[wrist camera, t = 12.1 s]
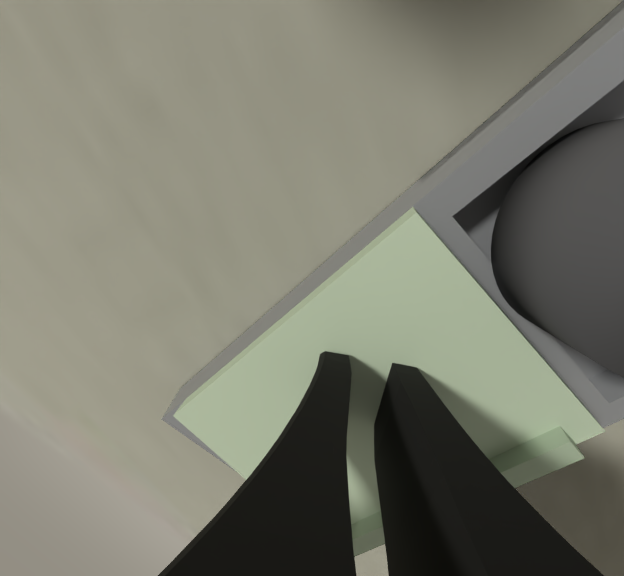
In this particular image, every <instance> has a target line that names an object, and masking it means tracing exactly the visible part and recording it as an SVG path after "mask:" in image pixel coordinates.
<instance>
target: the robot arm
mask: <svg viewBox="0 0 624 576" xmlns="http://www.w3.org/2000/svg"><path fill="white" fill-rule="evenodd" d="M351 376H352V372H351V364H350V359H349V355H345V354H339V353H333V352H328V351H324V352H323V353H321V354H320V356H319V361H318V366H317V369H316V372H315V374H314V376H313V379H312V381H311V383H310V385H309V387H308V389H307V391H306V393H305V395H304V397H303V398H302V400H301V402H300V404H299V406H298V408H297V409H296V411H295V413H294V414H293V416H292V417H291V419H290V420H289V422H288V424H287V425H286V427H285V428H284V430H283V431H282V433H281V434H280V436H279V437H278V439H277V440H276V442H275V443H274V444H273V446H272V447H271V449H270V450H269V451H268V453H267V454H266V456H265V457H264V458H263V459H262V461H261V462H260V463H259V465H258V466H257V467H256V469H255V470H254V471H253V472H252V474H251V475H250V476H249V477H248V478H247V480H246V481H245V482H244V483H243V484H242V486H241V487H240V488H239V489H238V490H237V492H236V493H235V494H234V495H233V496H232V498H231V499H230V500H229V501H228V502H227V503H226V505H225V506H224V507H223V508H222V509H221V510H220V511H219V512H218V514H217V515H216V516H215V517H214V518H213V519H212V520H211V521H210V522H209V523H208V524H207V525H206V526H205V528H204V529H203V530H202V531H201V532H200V533H199V534H198V535H197V536H196V537H195V538H194V539H193V540H192V541H191V542H190V543H189V544H188V545H187V546H186V547H185V548H184V550H183V551H182V552H181V553H180V554H179V555H178V556H177V557H176V558H175V559H174V560H173V561H172V562H171V563H170V564H169V565H168V566H167V567H166V568H165V569H164V570H163V571H162V572H161V573H160V574H159V575H158V576H356V570H355V560H354V551H353V539H352V527H351V515H350V503H349V489H348V473H347V457H346V452H347V428H348V415H349V403H350V390H351ZM374 461H375V469H376V477H377V485H378V493H379V501H380V508H381V516H382V523H383V531H384V538H385V546H386V553H387V561H388V572H389V576H604V575H603V574H601V573H600V572H599V571H598V570H597V569H596V568H595V567H594V566H593V565H592V564H591V563H589V562H588V561H587V560H586V559H585V558H584V557H583V556H582V555H581V554H580V553H579V552H577V551H576V550H575V549H574V548H573V547H572V546H571V545H570V544H569V543H568V542H567V541H566V540H565V539H564V538H563V537H562V536H561V535H560V534H559V533H558V532H557V531H556V530H555V529H554V528H553V527H552V526H551V525H550V524H549V523H548V522H547V521H546V520H545V519H544V518H543V517H542V516H541V515H540V514H539V513H538V512H537V511H536V510H535V509H534V508H533V507H532V506H531V505H530V504H529V503H528V502H527V501H526V500H525V499H524V498H523V497H522V496H521V495H520V494H519V493H518V491H517V490H516V489H515V488H514V487H513V486H512V485H511V484H510V483H509V482H508V481H507V480H506V478H505V477H504V476H503V475H502V474H501V473H500V472H499V470H498V469H497V468H496V467H495V466H494V465H493V464H492V462H491V461H490V460H489V459H488V458H487V457H486V456H485V454H484V453H483V452H482V451H481V450H480V448H479V447H478V446H477V445H476V444H475V442H474V441H473V440H472V439H471V438H470V436H469V435H468V434H467V433H466V431H465V430H464V429H463V428H462V426H461V425H460V424H459V423H458V421H457V420H456V419H455V417H454V416H453V415H452V414H451V412H450V411H449V410H448V408H447V407H446V406H445V404H444V403H443V402H442V400H441V399H440V398H439V396H438V395H437V394H436V392H435V391H434V390H433V388H432V387H431V386H430V384H429V383H428V382H427V380H426V379H425V378H424V376H423V375H422V374H421V372H420V371H419V370H418V368H417V367H413V366H408V365H403V364H397V363H392V365H391V369H390V372H389V375H388V378H387V382H386V385H385V388H384V392H383V395H382V399H381V402H380V406H379V409H378V412H377V416H376V419H375V423H374Z"/></svg>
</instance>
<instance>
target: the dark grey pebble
mask: <svg viewBox="0 0 624 576" xmlns="http://www.w3.org/2000/svg"><path fill="white" fill-rule="evenodd" d="M491 263H492V269H493V274H494V278H495V281H496V284H497V286H498V288H499V290H500V292H501V294H502V296H503V297H504V299H505V300H506V302H507V303H508V304H509V305H510V306H511V307H512V308H513V309H514V310H515V311H516V312H517V313H518V314H519V315H521V316H522V317H523V318H525V319H526V320H528V321H530V322H531V323H533V324H534V325H536V326H538V327H539V328H541V329H543V330H544V331H546V332H547V333H549V334H551V335H552V336H554V337H556V338H557V339H559V340H561V341H562V342H564V343H565V344H567V345H569V346H570V347H572V348H574V349H575V350H577V351H579V352H580V353H582V354H583V355H585V356H587V357H588V358H590V359H592V360H593V361H595V362H596V363H598V364H600V365H601V366H603V367H605V368H606V369H608V370H610V371H612V372H614V373H616V374H618V375H620V376H621V377H624V118H622V119H616V120H610V121H604V122H599V123H594V124H591V125H588V126H585V127H582V128H579V129H577V130H575V131H572V132H570V133H568V134H566V135H564V136H563V137H561V138H559V139H558V140H556V141H555V142H553V143H552V144H550V145H549V146H548V147H546V148H545V149H544V150H543V151H541V152H540V153H539V154H538V155H537V156H536V157H535V158H534V159H533V160H532V161H531V162H530V163H529V164H528V165H527V166H526V167H525V168H524V169H523V171H522V172H521V173H520V174H519V176H518V177H517V178H516V179H515V181H514V183H513V184H512V186H511V187H510V189H509V190H508V192H507V194H506V196H505V198H504V200H503V202H502V204H501V206H500V209H499V212H498V215H497V217H496V220H495V224H494V229H493V233H492V241H491Z"/></svg>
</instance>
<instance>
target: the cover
mask: <svg viewBox="0 0 624 576" xmlns="http://www.w3.org/2000/svg"><path fill="white" fill-rule="evenodd" d="M324 351H328V352H333V353H339V354H345V355H349V359H350V364H351V372H352V376H351V390H350V403H349V415H348V428H347V452H346V457H347V473H348V489H349V503H350V515H351V527H352V539H353V551H354V557H355V556H357V555H360V554H362V553H364V552H367V551H369V550H371V549H374V548H376V547H378V546H381V545H383V544H385V538H384V531H383V523H382V516H381V508H380V501H379V493H378V485H377V477H376V469H375V461H374V423H375V419H376V416H377V412H378V409H379V406H380V402H381V399H382V395H383V392H384V388H385V385H386V382H387V378H388V375H389V372H390V369H391V365H392V363H397V364H403V365H408V366H413V367H417V368H418V370H419V371H420V372H421V374H422V375H423V376H424V378H425V379H426V380H427V382H428V383H429V384H430V386H431V387H432V388H433V390H434V391H435V392H436V394H437V395H438V396H439V398H440V399H441V400H442V402H443V403H444V404H445V406H446V407H447V408H448V410H449V411H450V412H451V414H452V415H453V416H454V417H455V419H456V420H457V421H458V423H459V424H460V425H461V426H462V428H463V429H464V430H465V431H466V433H467V434H468V435H469V436H470V438H471V439H472V440H473V441H474V442H475V444H476V445H477V446H478V447H479V448H480V450H481V451H482V452H483V453H484V454H485V456H486V457H487V458H488V459H489V460H490V461H491V462H492V464H493V465H494V466H495V467H496V468H497V469H498V470H499V472H500V473H501V474H502V475H503V476H504V477H505V478H506V480H507V481H508V482H509V483H510V484H511V485H512V486H513V487H514V488H516V487H519V486H521V485H523V484H526V483H528V482H530V481H533V480H535V479H537V478H540V477H542V476H544V475H547V474H549V473H551V472H554V471H556V470H558V469H561V468H563V467H565V466H568V465H570V464H572V463H575V462H577V461H579V460H582V459H584V458H585V457H584V456H583V454H582V453H581V451H580V450H579V448H578V447H577V445H576V444H578V443H581V442H583V441H585V440H587V439H590V438H592V437H594V436H596V435H599V434H601V433H603V432H605V430H604V429H603V428H602V427H601V425H600V424H599V423H598V422H597V420H596V419H595V418H594V416H593V415H592V414H591V413H590V411H589V410H588V409H587V408H586V407H585V405H584V404H583V403H582V402H581V401H580V400H579V398H578V397H577V396H576V395H575V394H574V393H573V392H572V390H571V389H570V388H569V387H568V386H567V385H566V383H565V382H564V381H563V380H562V379H561V378H560V376H559V375H558V374H557V373H556V372H555V371H554V370H553V368H552V367H551V366H550V365H549V364H548V363H547V361H546V360H545V359H544V358H543V357H542V356H541V354H540V353H539V352H538V351H537V350H536V349H535V347H534V346H533V345H532V344H531V343H530V342H529V341H528V339H527V338H526V337H525V336H524V335H523V334H522V332H521V331H520V330H519V329H518V328H517V327H516V325H515V324H514V323H513V322H512V321H511V320H510V318H509V317H508V316H507V315H506V314H505V313H504V312H503V310H502V309H501V308H500V307H499V306H498V305H497V303H496V302H495V301H494V300H493V299H492V298H491V296H490V295H489V294H488V293H487V292H486V291H485V290H484V288H483V287H482V286H481V285H480V284H479V283H478V281H477V280H476V279H475V278H474V277H473V276H472V274H471V273H470V272H469V271H468V270H467V269H466V267H465V266H464V265H463V264H462V263H461V262H460V261H459V259H458V258H457V257H456V256H455V255H454V254H453V252H452V251H451V250H450V249H449V248H448V247H447V245H446V244H445V243H444V242H443V241H442V240H441V238H440V237H439V236H438V235H437V234H436V233H435V232H434V230H433V229H432V228H431V227H430V226H429V225H428V223H427V222H426V221H425V220H424V219H423V218H422V216H421V215H420V214H419V213H418V212H417V211H416V210H415V208H414V207H412V208H411V209H409V210H408V211H407V212H406V213H405V214H403V215H402V216H401V217H400V218H399V219H398V220H396V221H395V222H394V223H393V224H392V225H390V226H389V227H388V228H387V229H386V230H385V231H383V232H382V233H381V234H380V235H379V236H377V237H376V238H375V239H374V240H373V241H372V242H370V243H369V244H368V245H367V246H366V247H364V248H363V249H362V250H361V251H360V252H359V253H357V254H356V255H355V256H354V257H353V258H351V259H350V260H349V261H348V262H347V263H346V264H344V265H343V266H342V267H341V268H340V269H338V270H337V271H336V272H335V273H334V274H333V275H331V276H330V277H329V278H328V279H327V280H326V281H324V282H323V283H322V284H321V285H320V286H318V287H317V288H316V289H315V290H314V291H313V292H311V293H310V294H309V295H308V296H307V297H305V298H304V299H303V300H302V301H301V302H300V303H298V304H297V305H296V306H295V307H294V308H292V309H291V310H290V311H289V312H288V313H287V314H285V315H284V316H283V317H282V318H281V319H279V320H278V321H277V322H276V323H275V324H274V325H272V326H271V327H270V328H269V329H268V330H266V331H265V332H264V333H263V334H262V335H261V336H259V337H258V338H257V339H256V340H255V341H253V342H252V343H251V344H250V345H249V346H248V347H246V348H245V349H244V350H243V351H242V352H241V353H239V354H238V355H237V356H236V357H235V358H233V359H232V360H231V361H230V362H229V363H228V364H226V365H225V366H224V367H223V368H222V369H220V370H219V371H218V372H217V373H216V374H215V375H213V376H212V377H211V378H210V379H209V380H207V381H206V382H205V383H204V384H203V385H202V386H200V387H199V388H198V389H197V390H196V391H194V392H193V393H192V394H191V395H190V396H189V397H187V398H186V399H185V401H184V402H183V403H182V405H181V406H180V407H179V408H178V410H177V411H176V412H175V414H174V415H173V416H174V417H175V418H176V419H177V420H178V421H179V422H180V423H182V424H183V425H184V426H185V427H186V428H187V429H188V430H190V431H191V432H192V433H193V434H194V435H195V436H196V437H198V438H199V439H200V440H201V441H202V442H203V443H204V444H206V445H207V446H208V447H209V448H210V449H211V450H212V451H214V452H215V453H216V454H217V455H218V456H219V457H220V458H222V459H223V460H224V461H225V462H226V463H227V464H228V465H229V466H231V467H232V468H233V469H234V470H235V471H236V472H237V473H239V474H240V475H241V476H242V477H243V478H244V479H245V480H247V478H248V477H249V476H250V475H251V474H252V472H253V471H254V470H255V469H256V467H257V466H258V465H259V463H260V462H261V461H262V459H263V458H264V457H265V456H266V454H267V453H268V451H269V450H270V449H271V447H272V446H273V444H274V443H275V442H276V440H277V439H278V437H279V436H280V434H281V433H282V431H283V430H284V428H285V427H286V425H287V424H288V422H289V420H290V419H291V417H292V416H293V414H294V413H295V411H296V409H297V408H298V406H299V404H300V402H301V400H302V398H303V397H304V395H305V393H306V391H307V389H308V387H309V385H310V383H311V381H312V379H313V376H314V374H315V372H316V369H317V366H318V361H319V356H320V354H321V353H323V352H324Z"/></svg>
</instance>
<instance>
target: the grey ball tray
mask: <svg viewBox="0 0 624 576" xmlns="http://www.w3.org/2000/svg"><path fill="white" fill-rule="evenodd" d="M622 118H624V0H623V1H622V2H621V3H620V4H619V5H618V6H617V7H615V8H614V9H613V10H612V11H611V12H610V13H609V14H607V15H606V16H605V17H604V18H603V19H602V20H601V21H599V22H598V23H597V24H596V25H595V26H594V27H593V28H591V29H590V30H589V31H588V32H587V33H586V34H585V35H583V36H582V37H581V38H580V39H579V40H578V41H577V42H575V43H574V44H573V45H572V46H571V47H570V48H569V49H567V50H566V51H565V52H564V53H563V54H562V55H561V56H559V57H558V58H557V59H556V60H555V61H554V62H553V63H551V64H550V65H549V66H548V67H547V68H546V69H545V70H543V71H542V72H541V73H540V74H539V75H538V76H537V77H535V78H534V79H533V80H532V81H531V82H530V83H529V84H527V85H526V86H525V87H524V88H523V89H522V90H521V91H519V92H518V93H517V94H516V95H515V96H514V97H513V98H511V99H510V100H509V101H508V102H507V103H506V104H505V105H503V106H502V107H501V108H500V109H499V110H498V111H497V112H495V113H494V114H493V115H492V116H491V117H490V118H489V119H487V120H486V121H485V122H484V123H483V124H482V125H481V126H479V127H478V128H477V129H476V130H475V131H474V132H473V133H471V134H470V135H469V136H468V137H467V138H466V139H465V140H463V141H462V142H461V143H460V144H459V145H458V146H457V147H455V148H454V149H453V150H452V151H451V152H450V153H449V154H447V155H446V156H445V157H444V158H443V159H442V160H441V161H439V162H438V163H437V164H436V165H435V166H434V167H433V168H431V169H430V170H429V171H428V172H427V173H426V174H425V175H423V176H422V177H421V178H420V179H419V180H418V181H417V182H415V183H414V184H413V185H412V186H411V187H410V188H409V189H407V190H406V191H405V192H404V193H403V194H402V195H401V196H399V197H398V198H397V199H396V200H395V201H394V202H393V203H391V204H390V205H389V206H388V207H387V208H386V209H385V210H383V211H382V212H381V213H380V214H379V215H378V216H377V217H375V218H374V219H373V220H372V221H371V222H370V223H369V224H367V225H366V226H365V227H364V228H363V229H362V230H361V231H359V232H358V233H357V234H356V235H355V236H354V237H353V238H351V239H350V240H349V241H348V242H347V243H346V244H345V245H343V246H342V247H341V248H340V249H339V250H338V251H337V252H335V253H334V254H333V255H332V256H331V257H330V258H329V259H327V260H326V261H325V262H324V263H323V264H322V265H321V266H319V267H318V268H317V269H316V270H315V271H314V272H313V273H311V274H310V275H309V276H308V277H307V278H306V279H305V280H303V281H302V282H301V283H300V284H299V285H298V286H297V287H295V288H294V289H293V290H292V291H291V292H290V293H289V294H287V295H286V296H285V297H284V298H283V299H282V300H281V301H279V302H278V303H277V304H276V305H275V306H274V307H273V308H271V309H270V310H269V311H268V312H267V313H266V314H265V315H263V316H262V317H261V318H260V319H259V320H258V321H257V322H255V323H254V324H253V325H252V326H251V327H250V328H249V329H247V330H246V331H245V332H244V333H243V334H242V335H241V336H239V337H238V338H237V339H236V340H235V341H234V342H233V343H231V344H230V345H229V346H228V347H227V348H226V349H225V350H223V351H222V352H221V353H220V354H219V355H218V356H217V357H215V358H214V359H213V360H212V361H211V362H210V363H209V364H207V365H206V366H205V367H204V368H203V369H202V370H201V371H199V372H198V373H197V374H196V375H195V376H194V377H193V378H191V379H190V380H189V381H188V382H187V383H186V384H185V385H183V386H182V387H181V388H180V389H179V391H178V393H177V394H176V396H175V398H174V399H173V401H172V403H171V404H170V406H169V407H168V409H167V411H166V412H165V414H164V416H163V417H162V420H163V421H165V422H166V423H168V424H169V425H170V426H172V427H173V428H175V429H176V430H178V431H179V432H180V433H182V434H183V435H185V436H186V437H187V438H189V439H190V440H192V441H193V442H195V443H196V444H197V445H199V446H200V447H202V448H203V449H205V450H206V451H207V452H209V453H210V454H212V455H213V456H215V457H216V458H217V459H219V460H220V461H222V462H223V463H225V464H226V465H227V466H229V465H228V464H227V463H226V462H225V461H224V460H223V459H222V458H220V457H219V456H218V455H217V454H216V453H215V452H214V451H212V450H211V449H210V448H209V447H208V446H207V445H206V444H204V443H203V442H202V441H201V440H200V439H199V438H198V437H196V436H195V435H194V434H193V433H192V432H191V431H190V430H188V429H187V428H186V427H185V426H184V425H183V424H182V423H180V422H179V421H178V420H177V419H176V418H175V417H174V416H173V415H174V414H175V412H176V411H177V410H178V408H179V407H180V406H181V405H182V403H183V402H184V401H185V399H186V398H187V397H189V396H190V395H191V394H192V393H193V392H194V391H196V390H197V389H198V388H199V387H200V386H202V385H203V384H204V383H205V382H206V381H207V380H209V379H210V378H211V377H212V376H213V375H215V374H216V373H217V372H218V371H219V370H220V369H222V368H223V367H224V366H225V365H226V364H228V363H229V362H230V361H231V360H232V359H233V358H235V357H236V356H237V355H238V354H239V353H241V352H242V351H243V350H244V349H245V348H246V347H248V346H249V345H250V344H251V343H252V342H253V341H255V340H256V339H257V338H258V337H259V336H261V335H262V334H263V333H264V332H265V331H266V330H268V329H269V328H270V327H271V326H272V325H274V324H275V323H276V322H277V321H278V320H279V319H281V318H282V317H283V316H284V315H285V314H287V313H288V312H289V311H290V310H291V309H292V308H294V307H295V306H296V305H297V304H298V303H300V302H301V301H302V300H303V299H304V298H305V297H307V296H308V295H309V294H310V293H311V292H313V291H314V290H315V289H316V288H317V287H318V286H320V285H321V284H322V283H323V282H324V281H326V280H327V279H328V278H329V277H330V276H331V275H333V274H334V273H335V272H336V271H337V270H338V269H340V268H341V267H342V266H343V265H344V264H346V263H347V262H348V261H349V260H350V259H351V258H353V257H354V256H355V255H356V254H357V253H359V252H360V251H361V250H362V249H363V248H364V247H366V246H367V245H368V244H369V243H370V242H372V241H373V240H374V239H375V238H376V237H377V236H379V235H380V234H381V233H382V232H383V231H385V230H386V229H387V228H388V227H389V226H390V225H392V224H393V223H394V222H395V221H396V220H398V219H399V218H400V217H401V216H402V215H403V214H405V213H406V212H407V211H408V210H409V209H411V208H412V207H414V208H415V210H416V211H417V212H418V213H419V214H420V215H421V216H422V218H423V219H424V220H425V221H426V222H427V223H428V225H429V226H430V227H431V228H432V229H433V230H434V232H435V233H436V234H437V235H438V236H439V237H440V238H441V240H442V241H443V242H444V243H445V244H446V245H447V247H448V248H449V249H450V250H451V251H452V252H453V254H454V255H455V256H456V257H457V258H458V259H459V261H460V262H461V263H462V264H463V265H464V266H465V267H466V269H467V270H468V271H469V272H470V273H471V274H472V276H473V277H474V278H475V279H476V280H477V281H478V283H479V284H480V285H481V286H482V287H483V288H484V290H485V291H486V292H487V293H488V294H489V295H490V296H491V298H492V299H493V300H494V301H495V302H496V303H497V305H498V306H499V307H500V308H501V309H502V310H503V312H504V313H505V314H506V315H507V316H508V317H509V318H510V320H511V321H512V322H513V323H514V324H515V325H516V327H517V328H518V329H519V330H520V331H521V332H522V334H523V335H524V336H525V337H526V338H527V339H528V341H529V342H530V343H531V344H532V345H533V346H534V347H535V349H536V350H537V351H538V352H539V353H540V354H541V356H542V357H543V358H544V359H545V360H546V361H547V363H548V364H549V365H550V366H551V367H552V368H553V370H554V371H555V372H556V373H557V374H558V375H559V376H560V378H561V379H562V380H563V381H564V382H565V383H566V385H567V386H568V387H569V388H570V389H571V390H572V392H573V393H574V394H575V395H576V396H577V397H578V398H579V400H580V401H581V402H582V403H583V404H584V405H585V407H586V408H587V409H588V410H589V411H590V413H591V414H592V415H593V416H594V418H595V419H596V420H597V422H598V423H599V424H600V425H601V427H602V428H604V427H607V426H609V425H611V424H613V423H615V422H618V421H620V420H622V419H624V377H621V376H620V375H618V374H616V373H614V372H612V371H610V370H608V369H606V368H605V367H603V366H601V365H600V364H598V363H596V362H595V361H593V360H592V359H590V358H588V357H587V356H585V355H583V354H582V353H580V352H579V351H577V350H575V349H574V348H572V347H570V346H569V345H567V344H565V343H564V342H562V341H561V340H559V339H557V338H556V337H554V336H552V335H551V334H549V333H547V332H546V331H544V330H543V329H541V328H539V327H538V326H536V325H534V324H533V323H531V322H530V321H528V320H526V319H525V318H523V317H522V316H521V315H519V314H518V313H517V312H516V311H515V310H514V309H513V308H512V307H511V306H510V305H509V304H508V303H507V302H506V300H505V299H504V297H503V296H502V294H501V292H500V290H499V288H498V286H497V284H496V281H495V278H494V274H493V269H492V263H491V241H492V233H493V229H494V224H495V220H496V217H497V215H498V212H499V209H500V206H501V204H502V202H503V200H504V198H505V196H506V194H507V192H508V190H509V189H510V187H511V186H512V184H513V183H514V181H515V179H516V178H517V177H518V176H519V174H520V173H521V172H522V171H523V169H524V168H525V167H526V166H527V165H528V164H529V163H530V162H531V161H532V160H533V159H534V158H535V157H536V156H537V155H538V154H539V153H540V152H541V151H543V150H544V149H545V148H546V147H548V146H549V145H550V144H552V143H553V142H555V141H556V140H558V139H559V138H561V137H563V136H564V135H566V134H568V133H570V132H572V131H575V130H577V129H579V128H582V127H585V126H588V125H591V124H594V123H599V122H604V121H610V120H616V119H622ZM229 467H230V468H232V467H231V466H229ZM232 469H233V468H232ZM233 470H234V469H233Z"/></svg>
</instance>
